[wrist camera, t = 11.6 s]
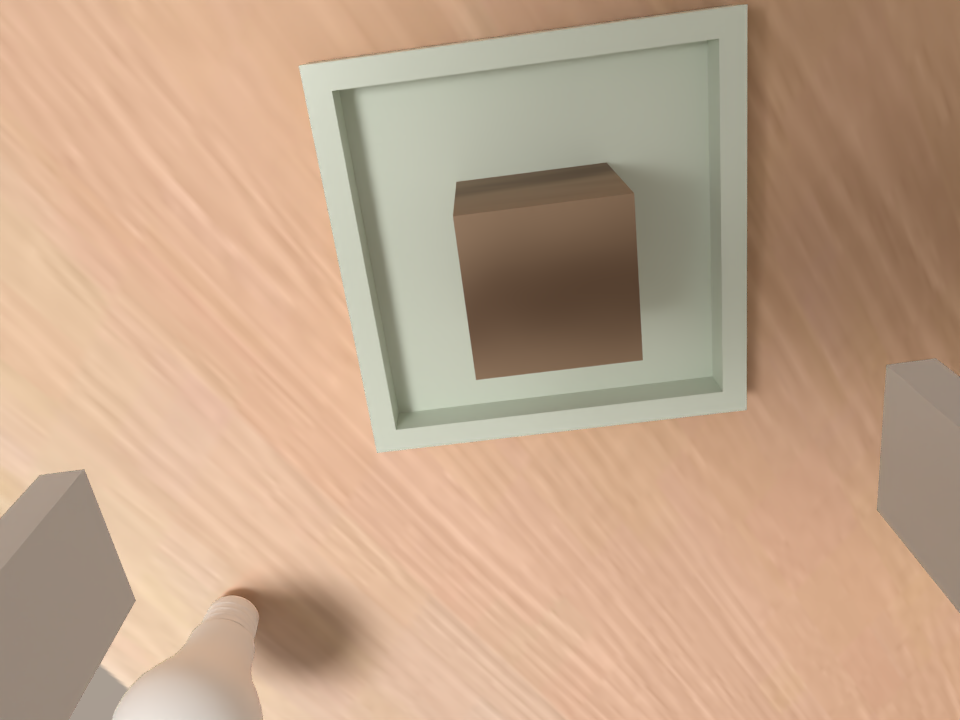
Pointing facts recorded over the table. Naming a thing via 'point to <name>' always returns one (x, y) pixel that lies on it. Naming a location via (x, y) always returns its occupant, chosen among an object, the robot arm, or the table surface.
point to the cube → (549, 270)
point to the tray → (529, 148)
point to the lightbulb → (203, 672)
